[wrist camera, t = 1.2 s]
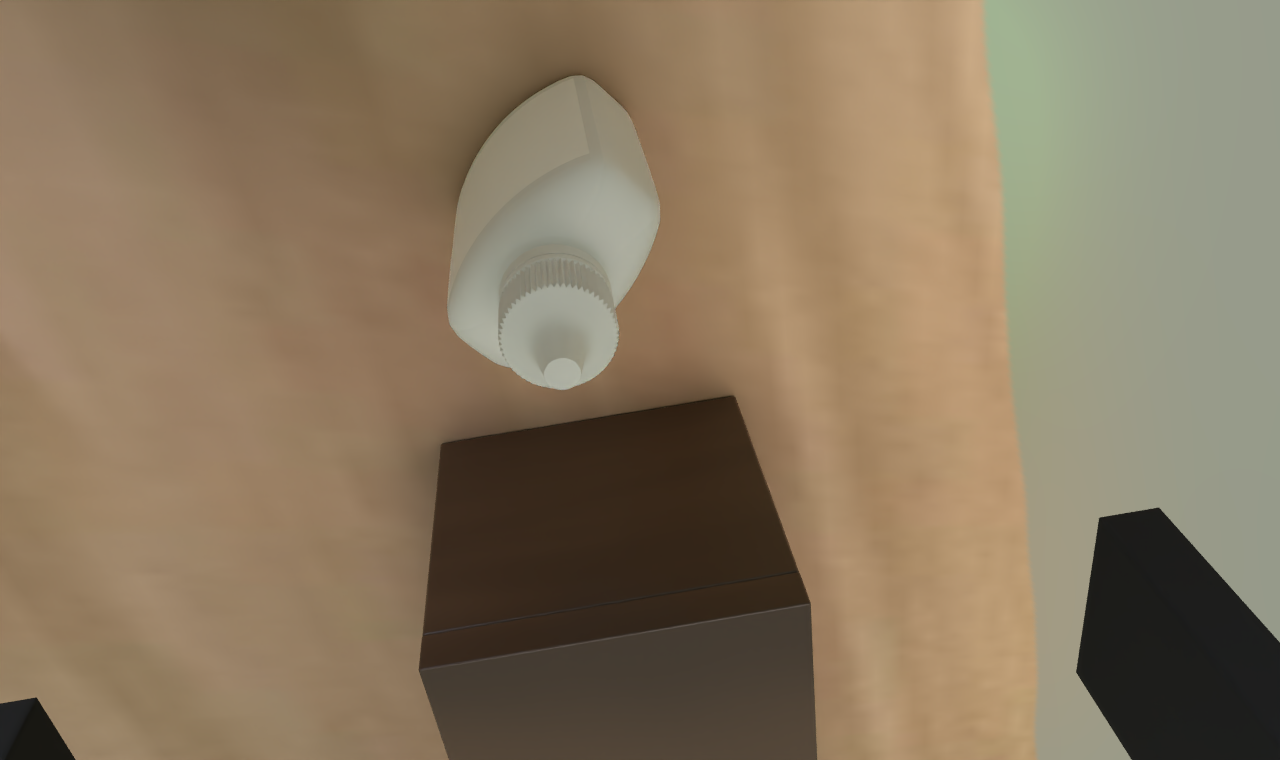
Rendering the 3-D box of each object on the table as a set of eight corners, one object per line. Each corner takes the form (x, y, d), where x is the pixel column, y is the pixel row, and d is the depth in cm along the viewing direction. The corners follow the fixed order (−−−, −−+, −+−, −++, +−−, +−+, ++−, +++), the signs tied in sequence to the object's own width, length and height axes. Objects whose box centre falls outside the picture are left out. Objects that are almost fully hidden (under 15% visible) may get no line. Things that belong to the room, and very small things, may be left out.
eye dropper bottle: (421, 123, 28) (372, 324, 18) (612, 57, 28) (672, 223, 18) (479, 259, 30) (467, 504, 20) (657, 199, 30) (734, 419, 20)
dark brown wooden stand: (440, 443, 34) (418, 670, 25) (735, 395, 34) (811, 603, 26) (534, 784, 43) (540, 1033, 35) (763, 744, 44) (826, 980, 35)
